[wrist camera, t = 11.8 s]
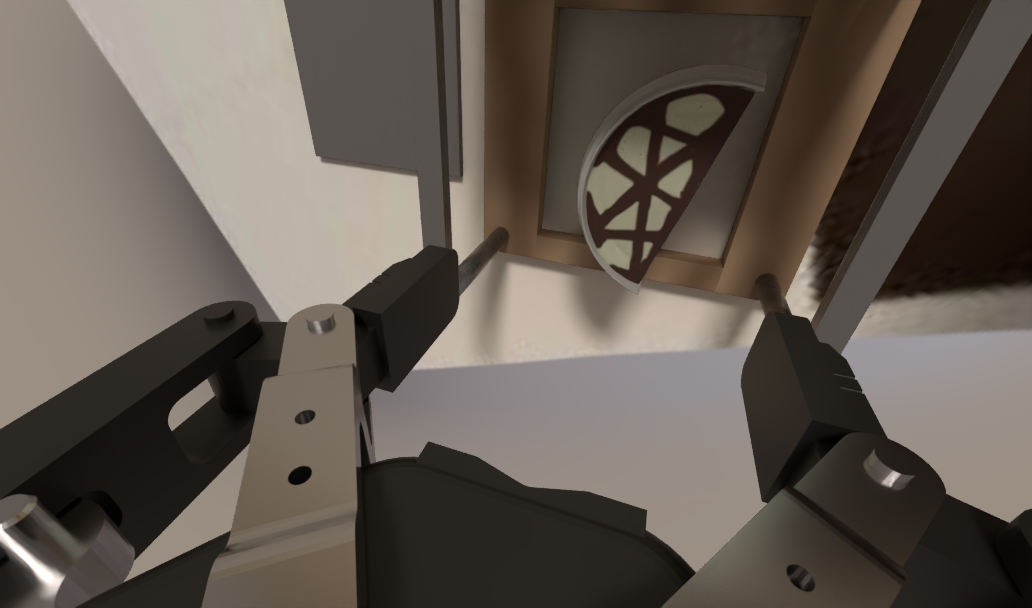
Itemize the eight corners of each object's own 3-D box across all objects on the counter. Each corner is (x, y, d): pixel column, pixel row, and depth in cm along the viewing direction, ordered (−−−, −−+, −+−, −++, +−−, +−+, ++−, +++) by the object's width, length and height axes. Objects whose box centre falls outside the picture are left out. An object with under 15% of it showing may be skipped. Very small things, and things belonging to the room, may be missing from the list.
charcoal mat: (458, -44, 27) (453, -46, 27) (462, 175, 35) (459, 176, 34) (280, -46, 31) (274, -47, 30) (320, 154, 38) (315, 155, 38)
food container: (649, 26, 26) (635, 19, 18) (744, 64, 25) (774, 75, 17) (572, 204, 33) (538, 257, 25) (645, 237, 33) (633, 302, 25)
